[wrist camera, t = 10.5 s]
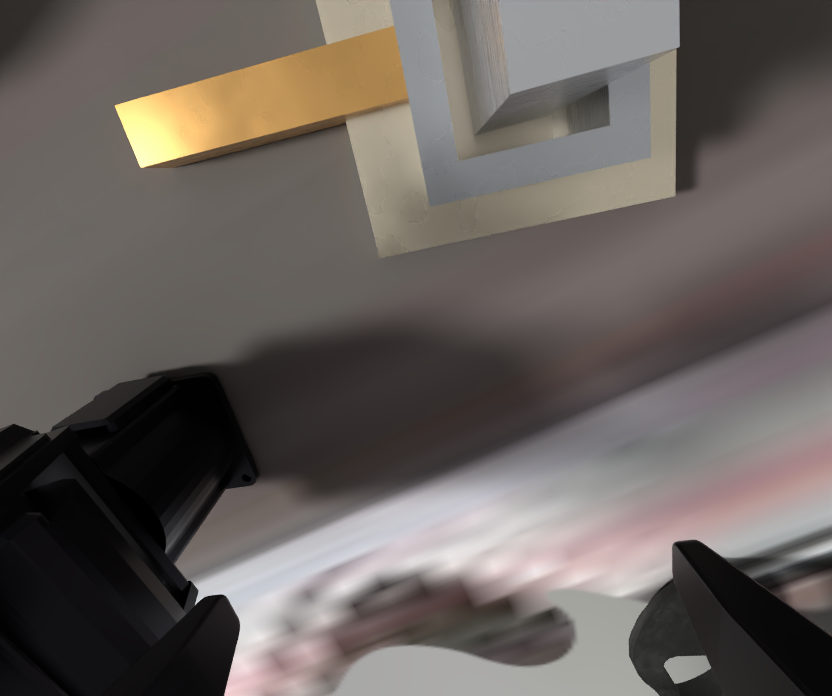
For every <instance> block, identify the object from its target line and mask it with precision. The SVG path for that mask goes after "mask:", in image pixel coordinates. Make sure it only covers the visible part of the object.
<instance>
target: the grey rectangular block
mask: <svg viewBox="0 0 832 696" xmlns="http://www.w3.org/2000/svg"><path fill="white" fill-rule="evenodd" d="M451 3H452V9H453V14H454V20H455V26H456V32H457V38H458V44H459V50H460V55H461V61H462V67H463V73H464V79H465V85H466V90H467V96H468V102H469V108H470V114H471V120H472V126H473V131H474V136H475V135H479V134H482V133H486V132H490V131H494V130H497V129H501V128H505V127H509V126H512V125H516V124H520V123H524V122H527V121H531V120H535V119H538V118H542V117H546V116H548V115H550V114H552V113H554V112H556V111H558V110H560V109H562V108H564V107H565V106H567V105H569V104H571V103H573V102H575V101H577V100H579V99H581V98H583V97H585V96H587V95H588V94H590V93H592V92H594V91H596V90H598V89H600V88H602V87H604V86H606V85H608V84H610V83H612V82H613V81H615V80H617V79H619V78H621V77H623V76H625V75H627V74H629V73H631V72H633V71H635V70H636V69H638V68H640V67H642V66H644V65H646V64H648V63H650V62H652V61H654V60H656V59H658V58H660V57H661V56H663V55H665V54H667V53H669V52H671V51H673V50H675V49H677V48H679V47H680V29H679V0H451Z"/></svg>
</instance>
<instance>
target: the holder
mask: <svg viewBox="0 0 832 696" xmlns="http://www.w3.org/2000/svg"><path fill="white" fill-rule="evenodd" d="M697 655H699V656H700V655H706V654H705V652H704V650H703V647H702V645H701V643H700V641H699V638H698V636H697V634H696V631H695V629H694V627H693V625H692V622H691V620H690V618H689V616H688V613H687V611H686V609H685V606H684V604H683V602H682V600H681V597H680V595H679V593H678V590H677V588H676V585H675V583H674V580H673V581H672V582H671V583H669V584H668V585H667V586H666V587H665V588H663V589H662V590H661V591H660V592H659V593H658V594H657V595H655V596H654V597H653V598H652V600H651V601H650V602H649V604H648V605H647V606H646V608H645V609H644V610H643V611H642V613H641V614H640V615H639V617H638V619H637V621H636V623H635V626H634V627H633V629H632V631H631V634H630V638H629V657H630V658H631V661H632V663H633V665H634V667H635V669H636V671H637V673H638V675H639V676H640V677H641V678H642V680H643V681H644V682H645V683H646V684H648V685H649V686H650V687H651V688H653V689H654V690H655V691H656V692H657V693H658V694H659V695H660V696H725V694H724V692H723V691H722V689H721V687H720V685H719V683H718V681H717V679H716V677H715V674H714V672H713V670H712V668H711V669H710V670H708V671H707V672H705V673H703V674H701V675H700V676H698V677H696V678H693V679H691V680H688V681H686V682H683V683H678V684H674V682H673V681H672V679H671V677H670V676H669V674H668V673H667V671H666V669H665V668H664V663H665V662H666V661H667V660H668V659H669V658H672V657H675V656H697Z"/></svg>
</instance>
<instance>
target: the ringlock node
mask: <svg viewBox="0 0 832 696" xmlns="http://www.w3.org/2000/svg"><path fill="white" fill-rule="evenodd" d="M316 3H317V7H318V11H319V15H320V19H321V23H322V27H323V31H324V35H325V39H326V43H327V45H324V46H321V47H317V48H314V49H310V50H307V51H303V52H300V53H296V54H293V55H289V56H286V57H282V58H279V59H275V60H272V61H268V62H265V63H261V64H258V65H255V66H251V67H248V68H244V69H241V70H237V71H234V72H230V73H227V74H223V75H220V76H216V77H213V78H209V79H206V80H202V81H199V82H195V83H192V84H188V85H185V86H181V87H178V88H174V89H171V90H167V91H164V92H160V93H157V94H153V95H150V96H146V97H143V98H139V99H136V100H132V101H129V102H125V103H122V104H118V105H115V108H116V110H117V112H118V115H119V117H120V119H121V122H122V124H123V127H124V129H125V131H126V134H127V136H128V138H129V141H130V143H131V146H132V148H133V150H134V153H135V155H136V157H137V160H138V162H139V165H140V167H141V168H175V167H179V166H182V165H186V164H190V163H194V162H198V161H202V160H206V159H210V158H213V157H217V156H221V155H225V154H229V153H233V152H237V151H241V150H245V149H248V148H252V147H256V146H260V145H264V144H268V143H272V142H276V141H279V140H283V139H287V138H291V137H295V136H299V135H303V134H307V133H310V132H314V131H318V130H322V129H326V128H330V127H334V126H338V125H342V124H345V123H346V124H347V128H348V132H349V136H350V140H351V144H352V148H353V152H354V156H355V160H356V165H357V169H358V173H359V177H360V181H361V185H362V189H363V193H364V197H365V201H366V205H367V209H368V213H369V217H370V221H371V225H372V229H373V233H374V237H375V241H376V245H377V249H378V253H379V257H380V258H383V257H388V256H393V255H398V254H402V253H407V252H412V251H417V250H421V249H426V248H431V247H436V246H440V245H445V244H450V243H455V242H460V241H464V240H469V239H474V238H479V237H483V236H488V235H493V234H498V233H502V232H507V231H512V230H517V229H521V228H526V227H531V226H536V225H540V224H545V223H550V222H555V221H559V220H564V219H569V218H574V217H579V216H583V215H588V214H593V213H598V212H602V211H607V210H612V209H617V208H621V207H626V206H631V205H636V204H640V203H645V202H650V201H655V200H659V199H664V198H669V197H674V196H675V183H676V49H675V50H673V51H671V52H669V53H667V54H665V55H663V56H661V57H660V58H658V59H656V60H654V61H652V62H650V63H648V64H646V65H644V66H642V67H640V68H638V69H636V70H635V71H633V72H631V73H629V74H627V75H625V76H623V77H621V78H619V79H617V80H615V81H613V82H612V83H610V84H608V85H606V86H604V87H602V88H600V89H598V90H596V91H594V92H592V93H590V94H588V95H587V96H585V97H583V98H581V99H579V100H577V101H575V102H573V103H571V104H569V105H567V106H565V107H564V108H562V109H560V110H558V111H556V112H554V113H552V114H550V115H548V116H546V117H542V118H538V119H535V120H531V121H527V122H524V123H520V124H516V125H512V126H509V127H505V128H501V129H497V130H494V131H490V132H486V133H482V134H479V135H475V136H474V131H473V126H472V120H471V114H470V108H469V102H468V96H467V90H466V85H465V79H464V73H463V67H462V61H461V55H460V50H459V44H458V38H457V32H456V26H455V20H454V14H453V9H452V3H451V0H316Z"/></svg>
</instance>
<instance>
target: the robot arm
mask: <svg viewBox="0 0 832 696" xmlns="http://www.w3.org/2000/svg"><path fill="white" fill-rule="evenodd" d="M204 381H207V382H208V383H209V384H210V386H207V385H206V384H205V383H204ZM246 474H248V475H250V477H248V476H247V475H246ZM258 476H259V472H258V470H257V467H256V465H255V463H254V460H253V458H252V456H251V453H250V451H249V449H248V447H247V444H246V442H245V440H244V437H243V435H242V433H241V430H240V428H239V426H238V423H237V421H236V419H235V416H234V414H233V412H232V409H231V407H230V405H229V403H228V400H227V398H226V396H225V393H224V391H223V389H222V386H221V384H220V382H219V380H218V378H217V377H216V376H215V375H214V374H212V373H200V374H195V375H189V376H184V377H178V378H173V379H171V378H170V377H168V376H165V375H161V376H155V377H150V378H144V379H139V380H133V381H128V382H123V383H119V384H117V385H116V386H114V387H113V388H111V389H110V390H107V391H103V392H101V393H100V394H98V395H97V396H95V398H94V400H93V401H91V402H90V403H88V404H87V405H85V406H84V407H82V408H81V409H79V410H78V411H76V412H75V413H73V414H71V415H70V416H68V417H67V418H65V419H64V420H62V421H61V422H59V423H58V424H56V425H55V426H53V427H52V429H51V431H50V432H48V433H43V434H40V433H39V432H38V431H32V430H29V429H26V428H24V427H21V426H18V425H16V424H12V425H9V426H7V427H4V428H1V429H0V696H224V693H225V689H226V685H227V681H228V677H229V673H230V669H231V665H232V661H233V657H234V653H235V648H236V644H237V640H238V636H239V631H240V622H239V619H238V616H237V615H236V613H235V611H234V609H233V607H232V606H231V604H230V602H229V600H228V598H227V597H226V596H224V595H212V596H207V597H204V598H203V599H202V600H200V601H199V602H198V603H197V604H196V605H195V602H196V598H197V595H198V589H197V588H196V587H195V586H194V584H193V583H192V582H191V581H187V580H186V579H185V577H184V576H183V575H182V573H181V572H180V571H179V570H178V568H177V567H176V566H175V565H174V564H175V562H176V561H177V559H178V558H179V557H180V555H181V554H182V552H183V551H184V549H185V548H186V546H187V545H188V543H189V542H190V540H191V539H192V538H193V536H194V535H195V533H196V532H197V530H198V529H199V527H200V526H201V524H202V523H203V521H204V520H205V519H206V517H207V516H208V514H209V513H210V511H211V510H212V508H213V507H214V505H215V504H216V503H217V501H218V500H219V498H220V497H221V495H222V494H223V492H224V491H225V489H230V488H237V487H244V486H250V485H253V484H254V483H255V482H256V480H257V479H258ZM672 573H673V579H674V583H675V585H676V588H677V590H678V593H679V595H680V597H681V600H682V602H683V604H684V606H685V609H686V611H687V613H688V616H689V618H690V620H691V622H692V625H693V627H694V629H695V631H696V634H697V636H698V638H699V641H700V643H701V645H702V647H703V650H704V652H705V654H706V656H707V659H708V661H709V663H710V666H711V668H712V670H713V672H714V674H715V677H716V679H717V681H718V683H719V685H720V687H721V689H722V691H723V692H724V694H725V696H832V635H830V634H829V633H827V632H826V631H825V630H823V629H822V628H820V627H819V626H818V625H816V624H815V623H813V622H812V621H811V620H809V619H808V618H806V617H805V616H804V615H802V614H801V613H799V612H798V611H797V610H795V609H794V608H793V607H791V606H790V605H788V604H787V603H786V602H784V601H783V600H781V599H780V598H779V597H777V596H776V595H774V594H773V593H772V592H770V591H769V590H767V589H766V588H765V587H763V586H762V585H760V584H759V583H758V582H756V581H755V580H753V579H752V578H751V577H749V576H748V575H746V574H745V573H744V572H742V571H741V570H739V569H738V568H737V567H735V566H734V565H733V564H731V563H730V562H728V561H727V560H726V559H724V558H723V557H721V556H720V555H719V554H717V553H716V552H714V551H713V550H712V549H710V548H709V547H707V546H706V545H705V544H703V543H702V542H700V541H698V540H686V541H677V542H675V543H674V544H673V546H672Z"/></svg>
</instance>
